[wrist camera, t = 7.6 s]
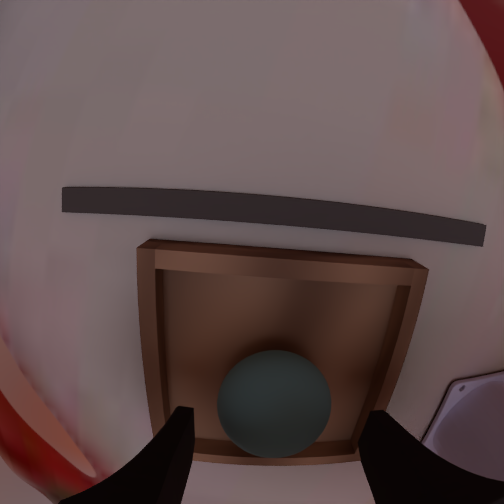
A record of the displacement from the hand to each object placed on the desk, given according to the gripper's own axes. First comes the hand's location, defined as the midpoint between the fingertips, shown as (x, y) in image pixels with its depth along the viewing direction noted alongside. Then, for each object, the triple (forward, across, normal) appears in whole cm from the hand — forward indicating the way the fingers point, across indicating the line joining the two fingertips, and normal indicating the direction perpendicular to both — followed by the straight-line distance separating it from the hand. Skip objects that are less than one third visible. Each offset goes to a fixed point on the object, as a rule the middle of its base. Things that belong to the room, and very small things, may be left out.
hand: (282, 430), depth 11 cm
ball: (+2, 0, 0) cm, 2 cm away
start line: (+5, 0, -8) cm, 9 cm away
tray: (+5, 0, 0) cm, 5 cm away
